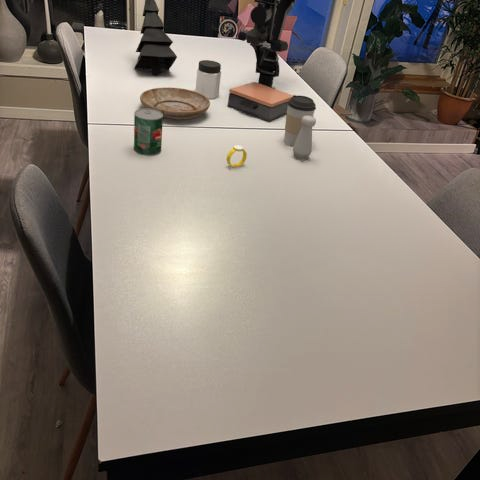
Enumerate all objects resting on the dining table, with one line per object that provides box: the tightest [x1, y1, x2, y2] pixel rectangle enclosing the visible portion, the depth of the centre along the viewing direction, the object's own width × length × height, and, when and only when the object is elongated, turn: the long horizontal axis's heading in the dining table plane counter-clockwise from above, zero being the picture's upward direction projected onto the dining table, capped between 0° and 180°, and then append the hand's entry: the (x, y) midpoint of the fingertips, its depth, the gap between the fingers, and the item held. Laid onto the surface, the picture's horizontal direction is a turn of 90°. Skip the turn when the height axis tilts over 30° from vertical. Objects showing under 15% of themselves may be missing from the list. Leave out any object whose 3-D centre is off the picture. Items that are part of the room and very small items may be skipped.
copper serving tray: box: [228, 81, 293, 107], centre depth 182 cm, size 16×18×1 cm
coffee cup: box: [283, 94, 317, 148], centre depth 160 cm, size 9×9×15 cm
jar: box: [194, 59, 222, 100], centre depth 187 cm, size 9×8×12 cm
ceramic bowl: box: [139, 86, 211, 120], centre depth 171 cm, size 23×24×5 cm
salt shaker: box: [292, 116, 317, 161], centre depth 152 cm, size 6×6×13 cm
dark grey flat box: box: [227, 92, 289, 123], centre depth 184 cm, size 18×18×5 cm
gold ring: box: [226, 144, 248, 168], centre depth 143 cm, size 6×3×6 cm, turn 123°
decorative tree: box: [133, 0, 178, 76], centre depth 201 cm, size 15×15×35 cm
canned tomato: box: [133, 107, 164, 157], centre depth 143 cm, size 8×8×11 cm
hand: (259, 64), depth 187 cm, fingers closed
